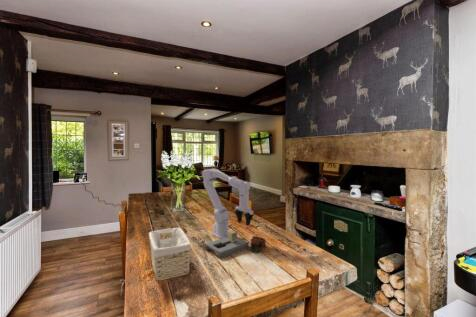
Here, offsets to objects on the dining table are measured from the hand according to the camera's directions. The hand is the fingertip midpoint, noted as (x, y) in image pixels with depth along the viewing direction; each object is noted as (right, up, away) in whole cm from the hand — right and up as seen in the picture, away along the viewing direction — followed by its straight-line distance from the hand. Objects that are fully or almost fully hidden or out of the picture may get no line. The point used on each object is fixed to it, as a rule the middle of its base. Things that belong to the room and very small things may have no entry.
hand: (243, 223), depth 145 cm
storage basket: (-36, -12, -33) cm, 50 cm away
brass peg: (-7, -11, -10) cm, 16 cm away
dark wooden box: (+8, -11, -13) cm, 19 cm away
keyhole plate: (-10, -11, -13) cm, 19 cm away
